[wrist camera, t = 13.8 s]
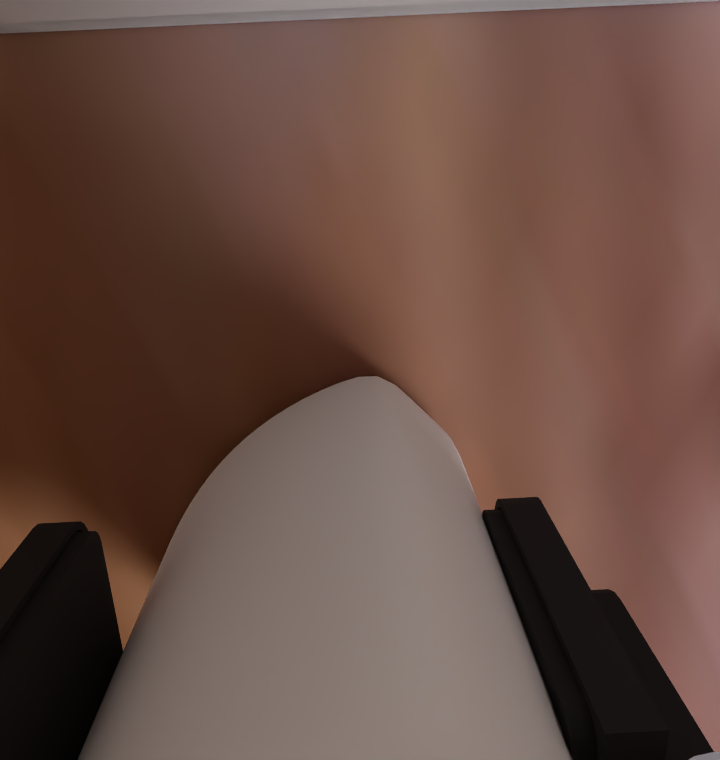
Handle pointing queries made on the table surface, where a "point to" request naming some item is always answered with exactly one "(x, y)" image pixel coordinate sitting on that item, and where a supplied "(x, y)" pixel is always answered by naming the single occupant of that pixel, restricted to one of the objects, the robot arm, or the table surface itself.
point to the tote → (246, 11)
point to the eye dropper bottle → (331, 606)
